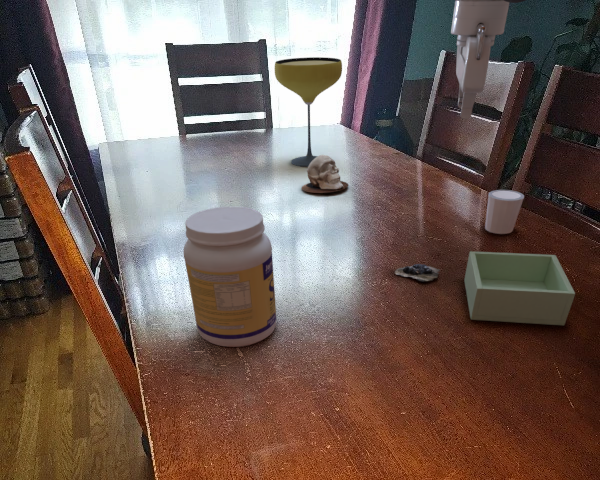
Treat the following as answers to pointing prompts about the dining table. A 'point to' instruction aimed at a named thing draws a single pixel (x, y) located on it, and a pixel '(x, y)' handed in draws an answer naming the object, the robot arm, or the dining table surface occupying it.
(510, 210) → the white cylinder
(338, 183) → the skull
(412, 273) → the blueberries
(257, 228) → the supplement tub
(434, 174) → the dining table surface
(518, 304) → the bin
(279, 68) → the cocktail glass
